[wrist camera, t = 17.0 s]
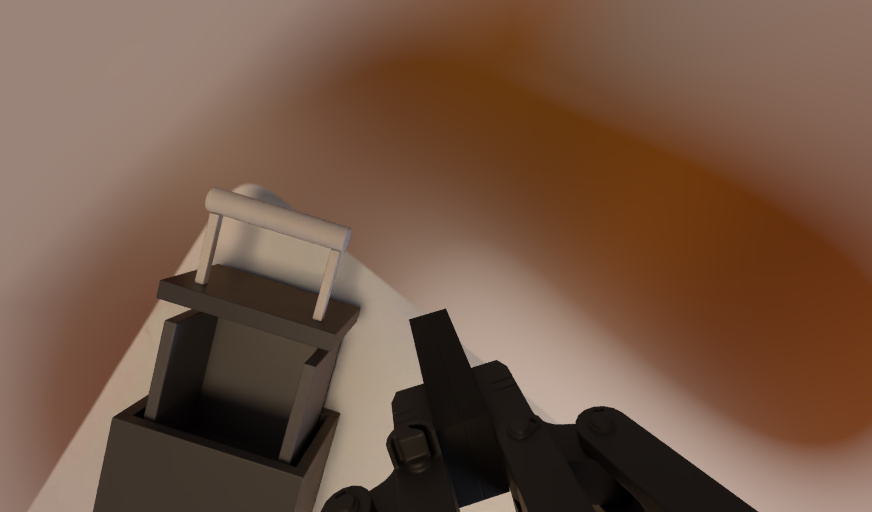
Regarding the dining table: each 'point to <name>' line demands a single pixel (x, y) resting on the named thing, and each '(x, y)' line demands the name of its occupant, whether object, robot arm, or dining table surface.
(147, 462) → the grey drawer box
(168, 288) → the open sliding drawer
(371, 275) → the dining table surface
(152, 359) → the dining table surface
